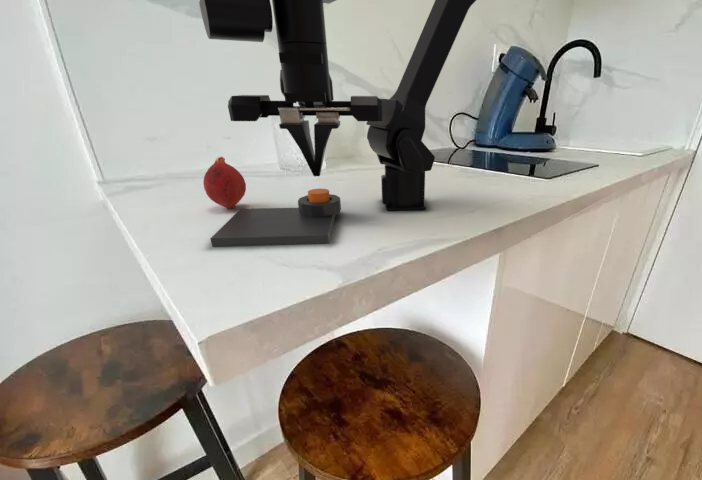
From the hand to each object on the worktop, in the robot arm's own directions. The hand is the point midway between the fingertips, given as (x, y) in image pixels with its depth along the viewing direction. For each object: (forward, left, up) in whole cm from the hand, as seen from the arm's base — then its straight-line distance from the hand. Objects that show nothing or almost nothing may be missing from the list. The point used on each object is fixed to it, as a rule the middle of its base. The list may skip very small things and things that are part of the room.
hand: (317, 175), depth 51 cm
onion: (+15, -6, -6) cm, 18 cm away
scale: (+5, +4, -6) cm, 9 cm away
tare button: (0, 0, -4) cm, 4 cm away
